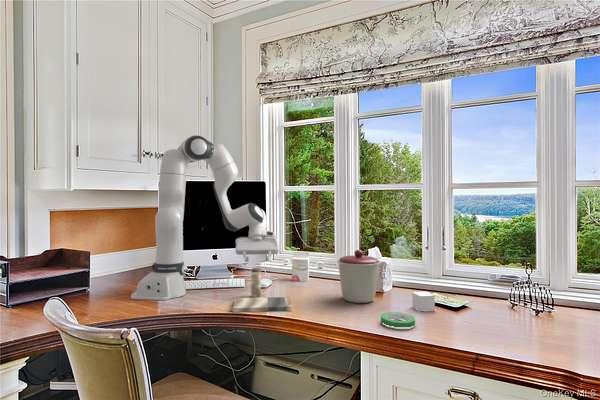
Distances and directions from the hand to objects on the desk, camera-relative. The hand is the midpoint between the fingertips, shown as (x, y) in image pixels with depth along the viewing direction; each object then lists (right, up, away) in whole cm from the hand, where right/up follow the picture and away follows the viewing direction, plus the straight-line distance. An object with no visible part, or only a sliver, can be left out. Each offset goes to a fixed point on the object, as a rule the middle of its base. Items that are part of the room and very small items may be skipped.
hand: (257, 260), depth 166 cm
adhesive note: (+67, -15, -25) cm, 73 cm away
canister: (+44, -14, -13) cm, 48 cm away
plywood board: (+5, -14, -23) cm, 27 cm away
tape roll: (+53, -15, -43) cm, 70 cm away
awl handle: (+1, -14, -9) cm, 17 cm away
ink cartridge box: (+20, -14, +24) cm, 34 cm away
